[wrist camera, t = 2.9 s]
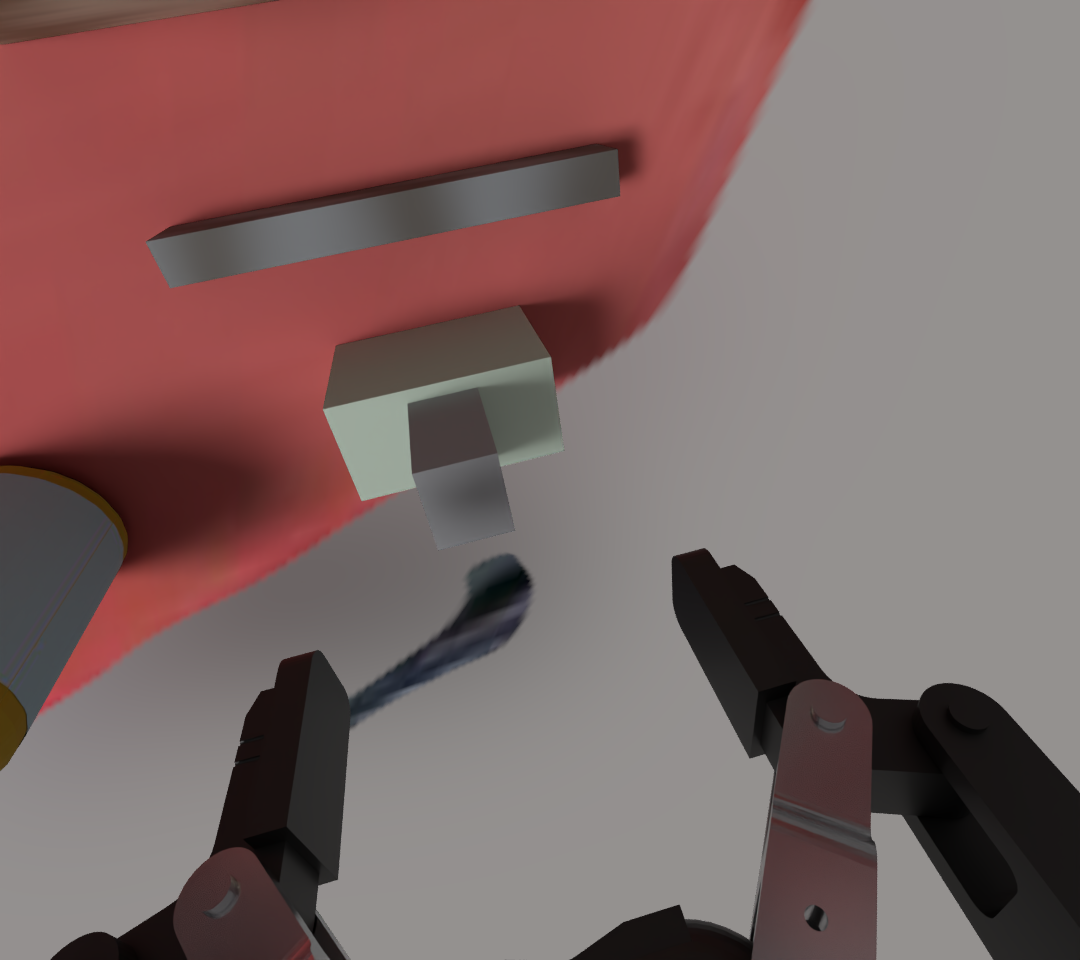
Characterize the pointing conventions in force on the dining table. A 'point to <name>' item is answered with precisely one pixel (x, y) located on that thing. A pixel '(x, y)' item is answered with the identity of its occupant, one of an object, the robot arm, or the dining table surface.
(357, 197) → the wall board
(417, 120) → the dining table surface
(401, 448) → the cabinet block
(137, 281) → the dining table surface
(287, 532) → the dining table surface
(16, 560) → the bottle
